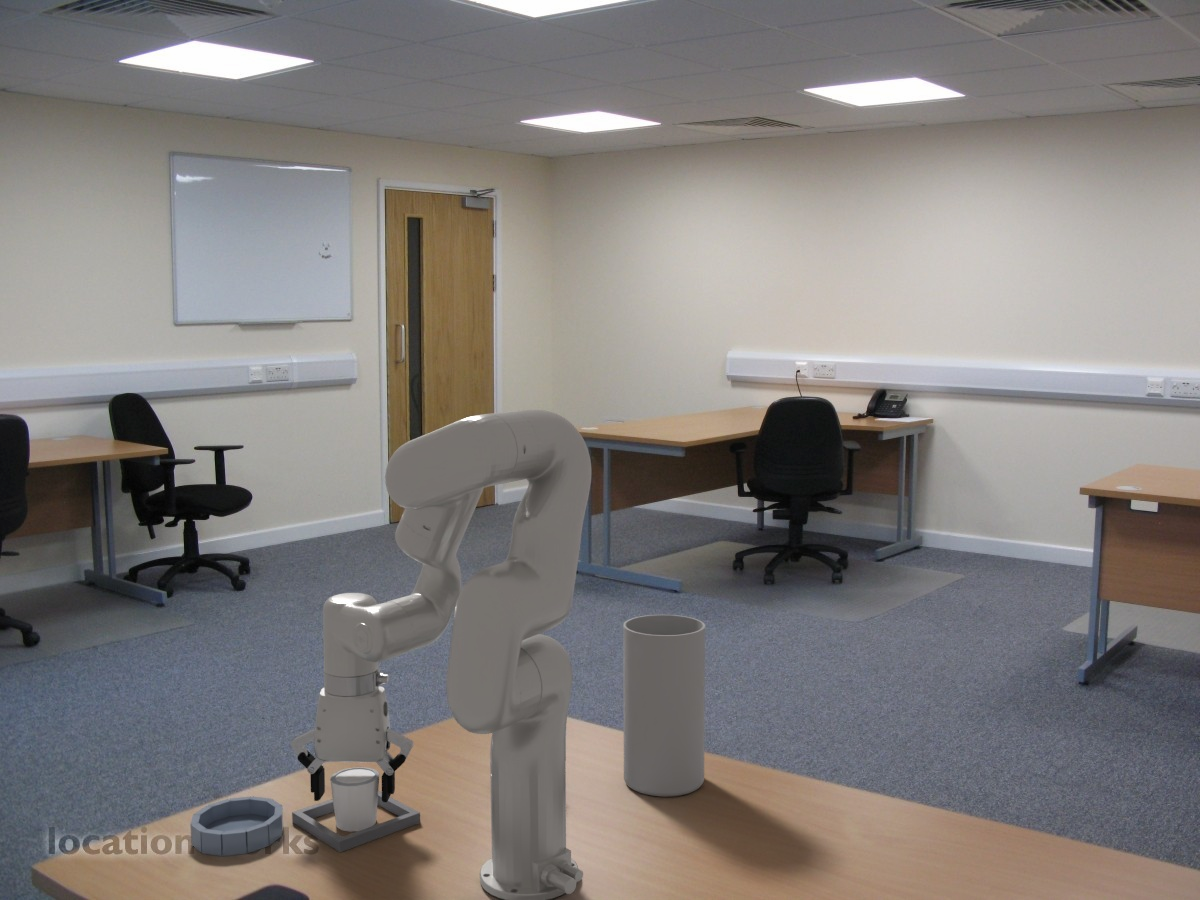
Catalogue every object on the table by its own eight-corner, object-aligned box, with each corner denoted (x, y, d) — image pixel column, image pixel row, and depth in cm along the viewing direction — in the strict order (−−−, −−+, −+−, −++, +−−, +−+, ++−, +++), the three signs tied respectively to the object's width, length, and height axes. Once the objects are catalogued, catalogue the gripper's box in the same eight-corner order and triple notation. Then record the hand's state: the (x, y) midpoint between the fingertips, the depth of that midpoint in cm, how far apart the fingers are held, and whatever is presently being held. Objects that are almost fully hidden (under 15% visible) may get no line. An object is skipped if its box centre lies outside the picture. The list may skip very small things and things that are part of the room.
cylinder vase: (661, 805, 164) (661, 640, 161) (607, 779, 173) (606, 623, 171) (721, 784, 171) (722, 626, 169) (666, 760, 181) (666, 610, 179)
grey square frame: (420, 822, 158) (420, 812, 158) (340, 852, 149) (339, 841, 149) (370, 795, 168) (370, 786, 168) (292, 822, 159) (292, 812, 159)
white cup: (386, 813, 162) (385, 767, 161) (372, 834, 155) (371, 786, 154) (340, 811, 162) (339, 765, 162) (324, 832, 155) (323, 784, 155)
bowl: (298, 835, 154) (297, 815, 154) (216, 864, 146) (215, 842, 146) (258, 809, 163) (257, 789, 163) (177, 835, 155) (176, 814, 154)
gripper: (417, 674, 160) (418, 788, 162) (298, 672, 160) (300, 785, 162) (407, 691, 153) (408, 810, 155) (282, 689, 153) (285, 807, 155)
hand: (353, 797), depth 158 cm, fingers open, 9 cm apart
